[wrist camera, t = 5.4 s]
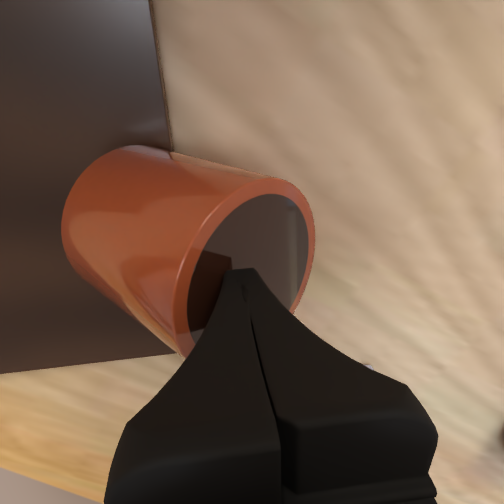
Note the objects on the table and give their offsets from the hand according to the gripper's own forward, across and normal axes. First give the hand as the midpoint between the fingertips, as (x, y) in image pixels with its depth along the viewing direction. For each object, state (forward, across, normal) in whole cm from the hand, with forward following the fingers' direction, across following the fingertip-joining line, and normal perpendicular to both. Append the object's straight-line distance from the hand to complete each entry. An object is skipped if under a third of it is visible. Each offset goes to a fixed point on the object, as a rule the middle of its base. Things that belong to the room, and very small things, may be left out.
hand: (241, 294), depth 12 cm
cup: (+6, -1, 0) cm, 6 cm away
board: (+9, +9, 0) cm, 13 cm away
